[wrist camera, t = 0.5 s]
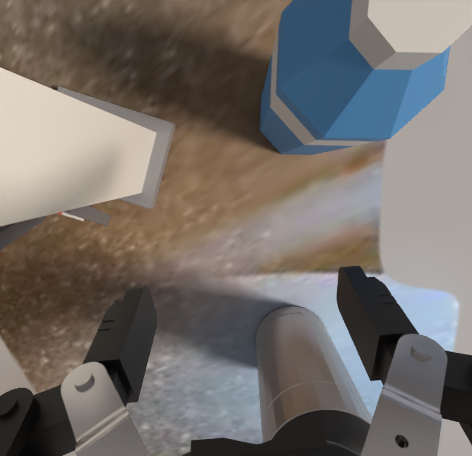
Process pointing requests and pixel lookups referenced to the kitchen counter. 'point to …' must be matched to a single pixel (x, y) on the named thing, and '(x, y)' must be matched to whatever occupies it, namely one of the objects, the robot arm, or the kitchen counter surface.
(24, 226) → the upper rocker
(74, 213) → the lower rocker
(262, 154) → the kitchen counter surface
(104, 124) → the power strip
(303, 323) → the robot arm
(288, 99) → the water bottle
